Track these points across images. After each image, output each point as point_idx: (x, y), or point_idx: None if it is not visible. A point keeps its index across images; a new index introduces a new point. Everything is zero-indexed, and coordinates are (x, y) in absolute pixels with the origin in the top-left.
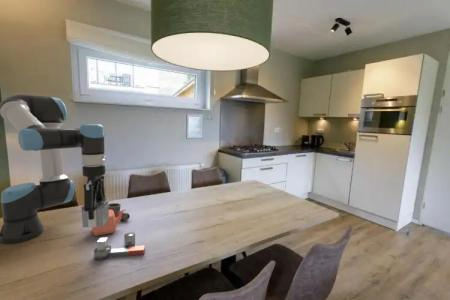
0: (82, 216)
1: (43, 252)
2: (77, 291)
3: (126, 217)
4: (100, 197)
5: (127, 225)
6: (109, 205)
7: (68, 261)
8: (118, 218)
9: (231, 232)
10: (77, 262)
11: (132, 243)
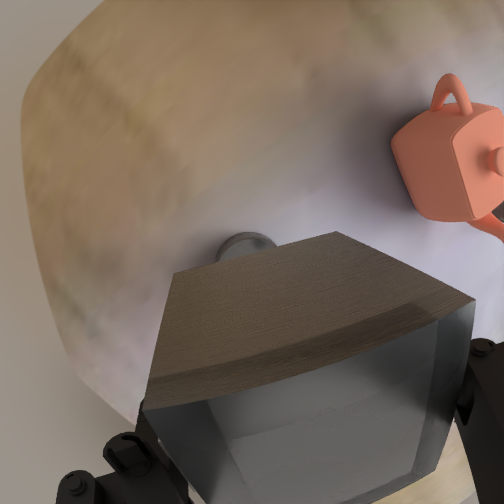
0: (164, 323)
1: (246, 4)
2: (60, 298)
3: (497, 218)
4: (472, 443)
5: (464, 233)
6: None
7: (192, 142)
8: (477, 222)
9: None
10: (190, 186)
11: None
